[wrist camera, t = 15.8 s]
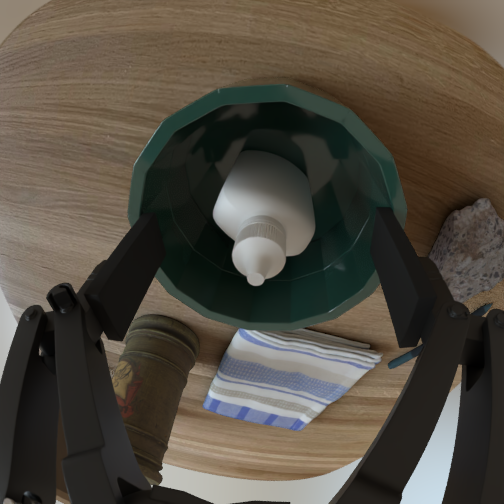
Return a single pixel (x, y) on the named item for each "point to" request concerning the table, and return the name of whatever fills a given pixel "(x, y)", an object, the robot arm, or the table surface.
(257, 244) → the eye dropper bottle
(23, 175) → the table surface
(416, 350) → the pen
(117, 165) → the table surface
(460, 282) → the rock
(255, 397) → the dish towel
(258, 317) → the pot
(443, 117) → the table surface
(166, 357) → the container
